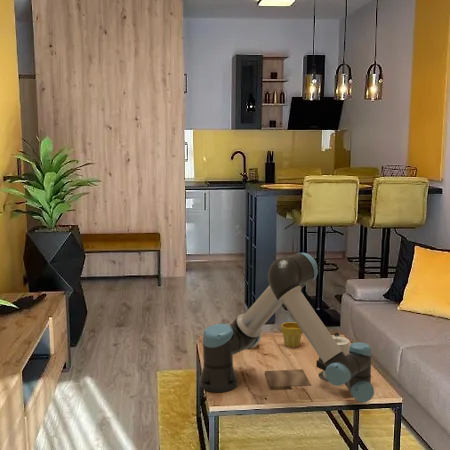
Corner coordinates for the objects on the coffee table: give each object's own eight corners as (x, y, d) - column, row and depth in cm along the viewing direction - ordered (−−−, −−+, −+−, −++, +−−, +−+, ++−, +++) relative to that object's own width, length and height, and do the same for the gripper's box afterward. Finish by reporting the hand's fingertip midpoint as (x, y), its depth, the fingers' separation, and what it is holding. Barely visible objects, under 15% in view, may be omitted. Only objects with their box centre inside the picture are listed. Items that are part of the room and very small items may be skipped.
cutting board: (270, 389, 229) (270, 386, 229) (264, 373, 245) (264, 370, 244) (311, 387, 230) (311, 384, 230) (302, 372, 246) (302, 369, 246)
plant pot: (307, 344, 279) (307, 324, 278) (294, 350, 271) (295, 330, 270) (289, 339, 286) (289, 320, 284) (276, 345, 278) (276, 325, 277)
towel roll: (326, 381, 233) (327, 345, 231) (320, 371, 243) (321, 337, 241) (351, 380, 234) (352, 344, 232) (344, 370, 244) (345, 336, 242)
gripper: (318, 387, 217) (306, 365, 238) (384, 384, 219) (366, 363, 240) (318, 367, 216) (306, 347, 237) (384, 365, 218) (366, 345, 239)
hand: (336, 355), depth 238 cm, fingers open, 13 cm apart
